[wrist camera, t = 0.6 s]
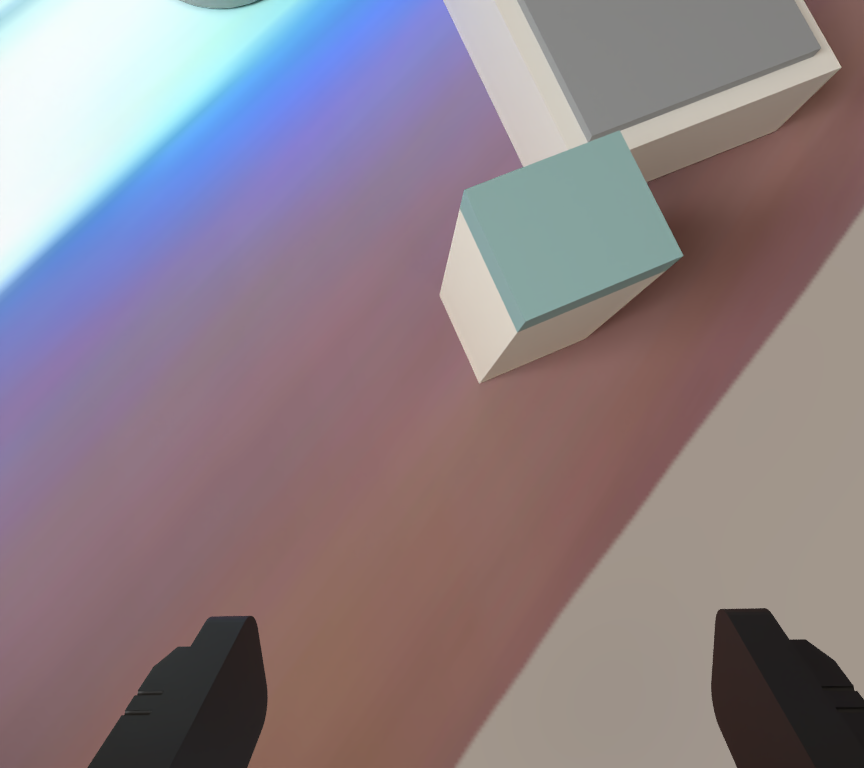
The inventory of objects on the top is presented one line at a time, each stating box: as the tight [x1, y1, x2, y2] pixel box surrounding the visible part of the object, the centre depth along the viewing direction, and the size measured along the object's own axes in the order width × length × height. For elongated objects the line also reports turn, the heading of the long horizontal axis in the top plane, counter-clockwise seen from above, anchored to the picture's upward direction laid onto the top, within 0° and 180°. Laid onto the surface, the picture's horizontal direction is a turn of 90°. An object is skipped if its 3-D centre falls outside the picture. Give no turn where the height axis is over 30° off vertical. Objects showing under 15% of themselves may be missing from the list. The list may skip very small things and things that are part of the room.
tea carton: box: [440, 130, 683, 384], centre depth 29 cm, size 5×6×12 cm
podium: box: [443, 0, 841, 182], centre depth 35 cm, size 14×14×6 cm
